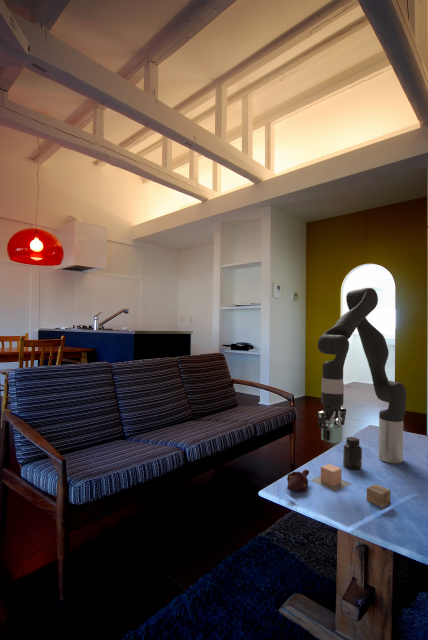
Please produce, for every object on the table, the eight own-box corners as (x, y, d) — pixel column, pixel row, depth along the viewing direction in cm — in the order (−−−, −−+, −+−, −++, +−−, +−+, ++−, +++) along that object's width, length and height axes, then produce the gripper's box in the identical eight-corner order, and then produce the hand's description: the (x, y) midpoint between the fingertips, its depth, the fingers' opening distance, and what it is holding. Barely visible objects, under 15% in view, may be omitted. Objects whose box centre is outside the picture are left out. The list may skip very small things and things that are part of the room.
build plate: (327, 476, 132) (327, 473, 132) (351, 486, 124) (351, 483, 124) (310, 482, 126) (310, 480, 126) (334, 494, 118) (334, 491, 118)
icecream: (301, 484, 111) (318, 473, 123) (280, 472, 115) (299, 462, 127) (294, 504, 111) (313, 491, 123) (274, 491, 116) (294, 480, 128)
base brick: (329, 477, 129) (329, 463, 129) (341, 482, 125) (341, 468, 125) (320, 481, 126) (320, 466, 126) (332, 486, 122) (332, 471, 122)
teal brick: (330, 437, 129) (330, 423, 129) (341, 440, 125) (342, 426, 125) (321, 439, 126) (321, 425, 126) (333, 443, 122) (333, 428, 122)
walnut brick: (375, 499, 115) (375, 484, 115) (390, 506, 111) (390, 490, 111) (366, 503, 112) (366, 487, 112) (381, 510, 108) (381, 494, 108)
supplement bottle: (363, 473, 135) (363, 442, 135) (344, 471, 137) (345, 440, 137) (359, 466, 142) (360, 436, 142) (341, 465, 143) (342, 435, 144)
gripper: (335, 387, 133) (334, 433, 133) (310, 391, 125) (309, 439, 124) (353, 390, 127) (352, 438, 126) (328, 394, 118) (327, 445, 118)
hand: (331, 438), depth 125 cm, fingers closed on teal brick, 5 cm apart
